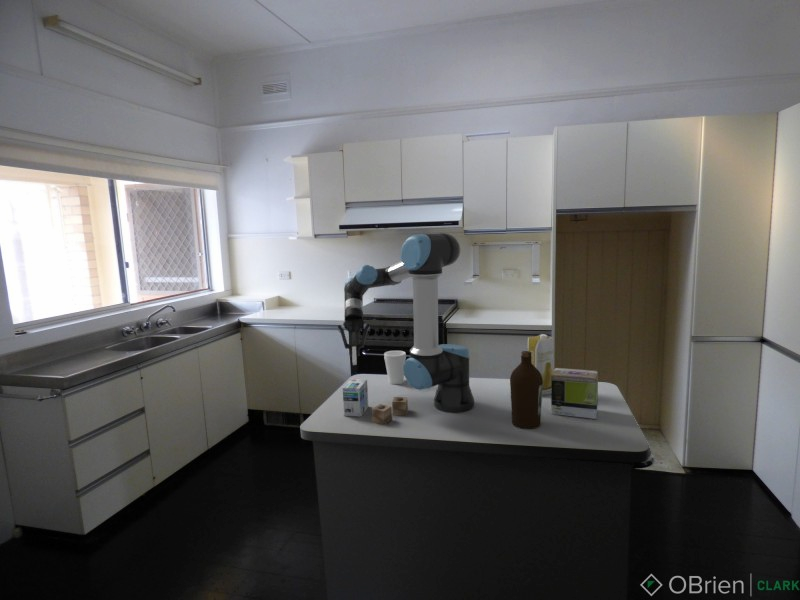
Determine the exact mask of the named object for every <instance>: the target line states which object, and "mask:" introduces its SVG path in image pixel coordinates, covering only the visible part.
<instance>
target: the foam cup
mask: <svg viewBox="0 0 800 600" xmlns="http://www.w3.org/2000/svg"><path fill="white" fill-rule="evenodd" d="M383 356H384V357H383V358H384V363H385V368H386V375H387V380H388V383H389V384H390V383H391V385H400V384H401V385H402V384H404V378H405V375H404V371H403V365H404V362H405V361H406V360H407V354H406V352H405V351H403V350H389V351H385V352H384V353H383Z"/></svg>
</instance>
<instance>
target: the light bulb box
mask: <svg viewBox="0 0 800 600" xmlns="http://www.w3.org/2000/svg"><path fill="white" fill-rule="evenodd" d="M368 395H369V392H368V379H357V378H356V379H353V378H351V379H350V380H349V381H348V382H347V383H346V384H345V385H344V386H343V387H342V399H343V401H342V402H343V416H345V417H346V416H347V417H360V418H361V417H362V416H363V415H364V413H365V412H366V411H367V409H368V408H369V396H368Z"/></svg>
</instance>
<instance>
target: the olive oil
mask: <svg viewBox="0 0 800 600" xmlns="http://www.w3.org/2000/svg"><path fill="white" fill-rule="evenodd" d="M531 361H532V356H531V352H530V351H528V350H522V351H521V355H520V363H519V364H518V365H517V366H516V367H515V368H514V369H513V370H512V371H511V374H510V377H509V382H510V383H509V386H510V388H509V389H510V402H511V403H510V405H511V407H510V408H511V424H512V425H513V426H514V427H516V428H518V427H519V428H518V429H523V430H534V429H538V428H539V427H540V426H541V424H542V423H541V420H542V419H541V418H542V417H541V416H542V400H543V396H542V388H543V379H542V375H541V373H540V372H539V371H538V369H537V368H536V367H535V366H534V365H533V364H532V363H531ZM533 428H534V429H533Z"/></svg>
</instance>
